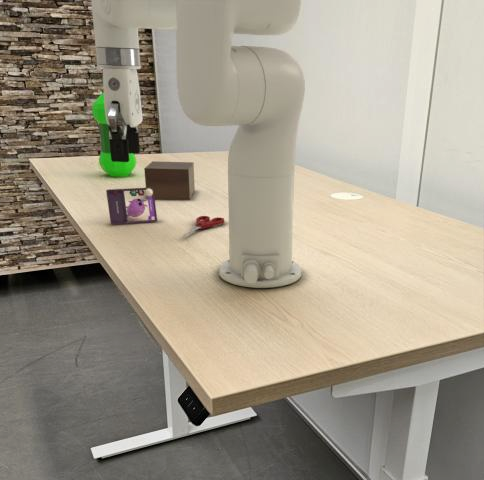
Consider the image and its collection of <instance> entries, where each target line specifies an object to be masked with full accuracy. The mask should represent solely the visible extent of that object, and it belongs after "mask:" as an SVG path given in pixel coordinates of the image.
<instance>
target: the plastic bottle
mask: <svg viewBox="0 0 484 480" xmlns="http://www.w3.org/2000/svg"><path fill="white" fill-rule="evenodd" d="M101 85H103V76H101ZM91 111H92V117H93V120H95V122H96V123H98V129H99V130H98V131H99V139H100V147H101V152H100V154H99V156H98V164H99V166H100V169H101V170H103V171H104V173H106V174H108V176H110V177H112V178H113V177H114V178H122V177H123V178H124V177H129V176H130V174H131V172H133V171H134V170H135V168H136V165H137V157H136V154H133V153H129V161H128V162H113V161H112V160H111V152H110V141H109V128H108V127H109V125H108V124H107V121H106V115H105V105H104V91H103V92H102V93H101V94H100V95H99V96H98V97H97V98H96V99H95V101H93V104H92V106H91ZM121 131H122V128H121Z"/></svg>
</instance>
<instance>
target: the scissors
mask: <svg viewBox="0 0 484 480" xmlns="http://www.w3.org/2000/svg"><path fill="white" fill-rule="evenodd" d="M195 222H196V223H195V227H194V228H192V229H191V230H189V231H187V232H186V233H185V234H184V235H183V237H186V236H188V235H190V234H192V233H193V232H195V231H197V230H204V229H207V228H211V227H215V226H220V225H222V224H224V223H225V218H224V217H213V218H212V219H211V217H210V216H209V215H200V216H197V217H196V221H195Z"/></svg>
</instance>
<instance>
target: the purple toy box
mask: <svg viewBox="0 0 484 480" xmlns="http://www.w3.org/2000/svg"><path fill="white" fill-rule="evenodd" d="M125 192H129V194H130V196H131V197H137V195H138V196H139V197H141V196H143V197H144V195H145V196H146V195H147V197H146V199H144V198H141V199H140V198H134V199H132V200H128V202H129V204H128V205H127V204H126V197H125ZM105 193H106V199H107V207H108V215H109V221H110V226H111V225H112V226H116V225H129V224H130V225H131V224H143V223H144V224H145V223H156V222H158V215H157V207H156V199H155V198H154V190H153V188H152V187H151V188H146V187H133V188H132V187H131V188H130V187H129V188H113V189H106V192H105ZM146 201H147V203H148V205H147V204H145V203H144V202H146ZM146 207H148V212H149V213H148V214H149V215H148V216H147V220H134V221H133V220H132V221H129V218H137V217H141V216H142V214H144V212H145V210H146ZM153 217H154V219H153Z"/></svg>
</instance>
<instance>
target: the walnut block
mask: <svg viewBox="0 0 484 480" xmlns="http://www.w3.org/2000/svg"><path fill="white" fill-rule="evenodd" d="M143 170H144V182H145V188H151V187H152V188H153V190H154V198H155V200H176V201H177V200H179V201H180V200H182V201H190V200H191V199H192V196H193V195H194V194H195V189H196V188H195V163H194V162H193V161H191V162H190V161H154V160H153V161H151V162H150V163H149V164H148V165H146V167H144V168H143ZM145 196H146V198H147V195H146V194H145Z"/></svg>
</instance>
